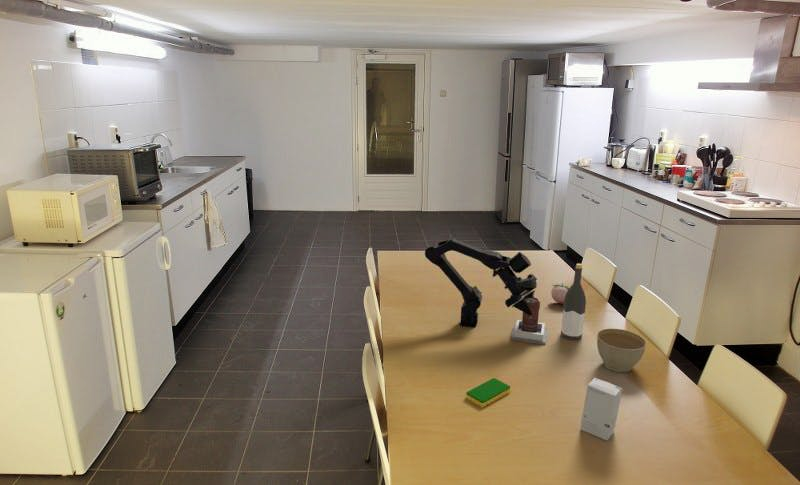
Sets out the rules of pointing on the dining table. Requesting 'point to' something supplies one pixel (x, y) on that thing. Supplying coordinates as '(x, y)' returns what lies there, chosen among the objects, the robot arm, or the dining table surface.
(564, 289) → the decorative fruit
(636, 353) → the planter bowl
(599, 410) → the skincare box
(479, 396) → the dish sponge
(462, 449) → the dining table surface
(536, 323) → the can
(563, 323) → the wine bottle
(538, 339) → the tray
